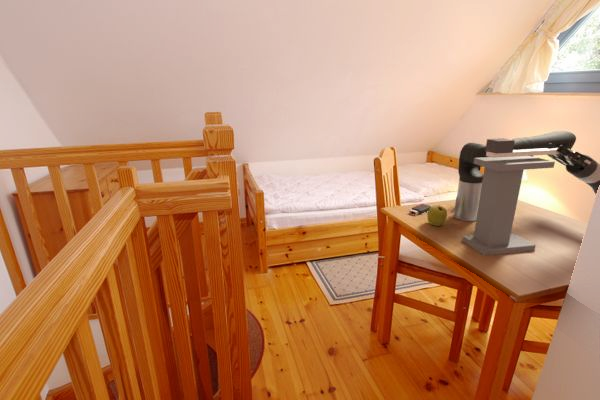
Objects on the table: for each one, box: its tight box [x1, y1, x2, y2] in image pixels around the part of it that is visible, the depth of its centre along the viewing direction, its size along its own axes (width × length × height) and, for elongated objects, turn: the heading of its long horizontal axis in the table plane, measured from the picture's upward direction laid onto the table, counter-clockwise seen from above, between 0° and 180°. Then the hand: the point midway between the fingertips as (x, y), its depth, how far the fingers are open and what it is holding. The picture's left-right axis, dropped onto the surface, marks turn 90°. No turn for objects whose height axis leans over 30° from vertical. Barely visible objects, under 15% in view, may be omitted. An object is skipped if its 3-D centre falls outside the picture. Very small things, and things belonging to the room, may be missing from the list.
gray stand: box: [461, 156, 556, 256], centre depth 115 cm, size 20×12×32 cm, turn 98°
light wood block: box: [485, 137, 561, 158], centre depth 109 cm, size 28×5×6 cm, turn 98°
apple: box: [426, 205, 448, 227], centre depth 138 cm, size 8×8×10 cm
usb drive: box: [409, 203, 432, 216], centre depth 154 cm, size 5×12×3 cm, turn 130°
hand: (553, 146), depth 110 cm, fingers closed on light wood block, 3 cm apart
